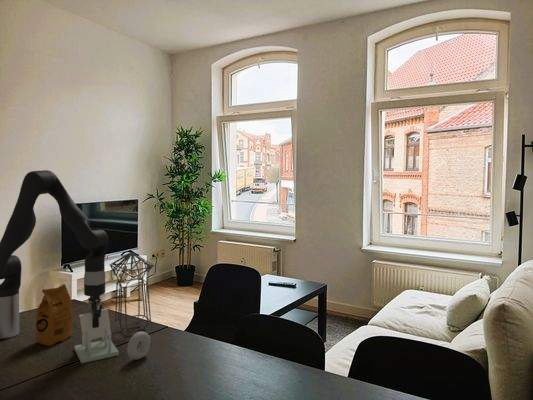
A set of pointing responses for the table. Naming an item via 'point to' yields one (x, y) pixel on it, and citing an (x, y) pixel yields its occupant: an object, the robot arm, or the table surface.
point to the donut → (134, 342)
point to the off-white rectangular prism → (87, 327)
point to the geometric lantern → (131, 286)
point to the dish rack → (96, 348)
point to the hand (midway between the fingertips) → (94, 326)
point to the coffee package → (54, 316)
